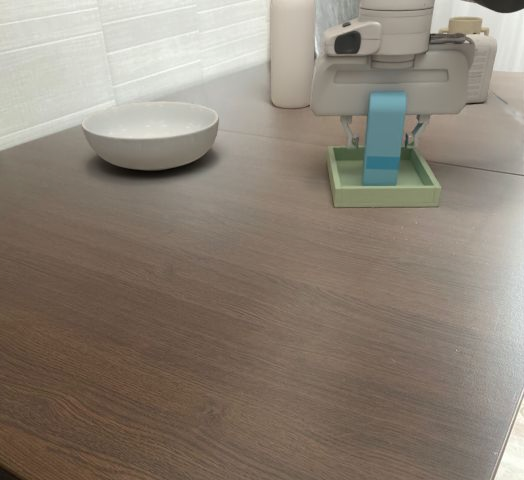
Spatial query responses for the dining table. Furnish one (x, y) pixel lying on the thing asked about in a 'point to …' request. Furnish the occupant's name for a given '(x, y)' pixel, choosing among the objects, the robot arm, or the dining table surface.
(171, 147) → the serving bowl
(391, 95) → the data package
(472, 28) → the character mug
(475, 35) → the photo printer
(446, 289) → the dining table surface
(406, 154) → the shallow green tray
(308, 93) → the alcohol
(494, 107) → the dining table surface
